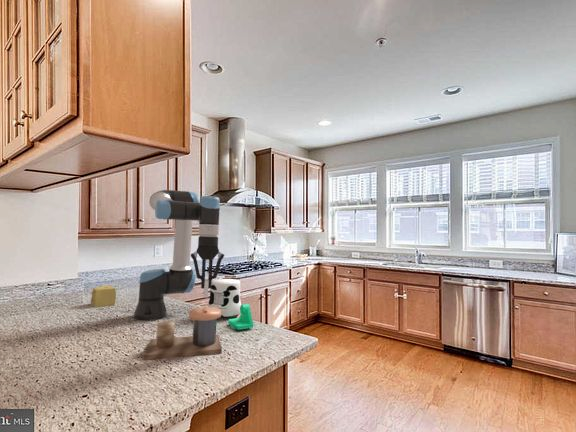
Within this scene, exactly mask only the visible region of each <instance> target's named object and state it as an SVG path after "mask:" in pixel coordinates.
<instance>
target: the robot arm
mask: <svg viewBox="0 0 576 432" xmlns="http://www.w3.org/2000/svg"><path fill="white" fill-rule="evenodd" d="M220 202H221V200H220V198H219V197H218V196H212V195H211V196H209V195H207V196H206V195H205V196H204V195H203V196H201V197H200V198H199V195H198V194H197V192H195V191H189V190H188V191H186V190H184V191H183V190H172V189H162V190H158V191H156V192H154V193H153V194H151V196H150V198H149V206H150V207H151V209H152V210H153V211H154V216H155V218H156V219H158V220H163V221H165V220H175V222H174V237H173V239H174V240H173V241H174V242H173V254H172V255H173V256H172V264H171V266H169V271H166V270H165V268H154V269H148V270H144V271H142V272H141V273H140V275H139V282H138V283H139V290H138V302H137V305H136V307H135V310H134V312H133V318H134V319H135V320H139V321H151V320H158V319H159V320H160V319H162V318H163V319H164V318H165V317H166V316H167V312H168V311H167V307H166V304H165V300H164V297H165V295H174V294H186V293H190V292H192V290H193V289H194V287H195V284H196V278H197V279H198V280H201V281H200V282H201V283H200V287H201V289H203V298H205V299H206V298H208V299H209V289H210V288H211V284H212V280H215V279H217V277H218V274H219V269H220V267H221V263H222V260H223V259H224V257H225V254H224V253H222V252H221V251H220V249H219V237H218V236H219V231H220V228H219V227H220V226H219V225H220V211H221V210H220V209H221V203H220ZM194 221H198V222H199V225H198V235H199V236H198V241H197V242H198V243H197V244H198V245H197V249H196V251H195V252H193V253H191V251H192V248H191V247H192V234H193V222H194ZM198 256H199V258H200V259H201V261H202V262H201V263H202V264H201V272H200V270H199V264H198V260H197V257H198ZM216 256H217V261H216V265H215V267H214V268H215V269H214V271H213V260H214V259H215V258H216ZM191 258H192V259H191ZM191 260H193V265H194V270H193V267H192V265H191ZM207 260H208V273H207V274H208V277H207V278H206V266H207V265H206V264H207V262H206V261H207Z"/></svg>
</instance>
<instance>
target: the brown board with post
mask: <svg viewBox="0 0 576 432" xmlns="http://www.w3.org/2000/svg"><path fill="white" fill-rule="evenodd" d="M175 325H176V323H175V321H171V320H166V321H160V322H158V323H157V329H156V338H150V339H149V342H148V345H147V348H146V350H145V353H144V356H143V357H144V358H143V360H154V359H155V360H156V359H168V358H179V357H189V356H204V355H216V354H217V355H218V354H222V352H223V351H222V349H223V348H222V344H221V340H220V336H219V334H216V342H215V343H214V344H213V345H210V346H205V347H200V346H195V345H193V343H192V340H193V335H192V336H181V337H179V336H178V337H175V328H176V327H175Z"/></svg>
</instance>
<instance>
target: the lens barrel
mask: <svg viewBox="0 0 576 432" xmlns="http://www.w3.org/2000/svg"><path fill="white" fill-rule="evenodd" d="M216 335H217V319H214V320H207V321H198V320H192V336H193V340H192V343H193V345H195V346H200V347H205V346H210V345H213V344H214V343H215V342H216Z"/></svg>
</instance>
